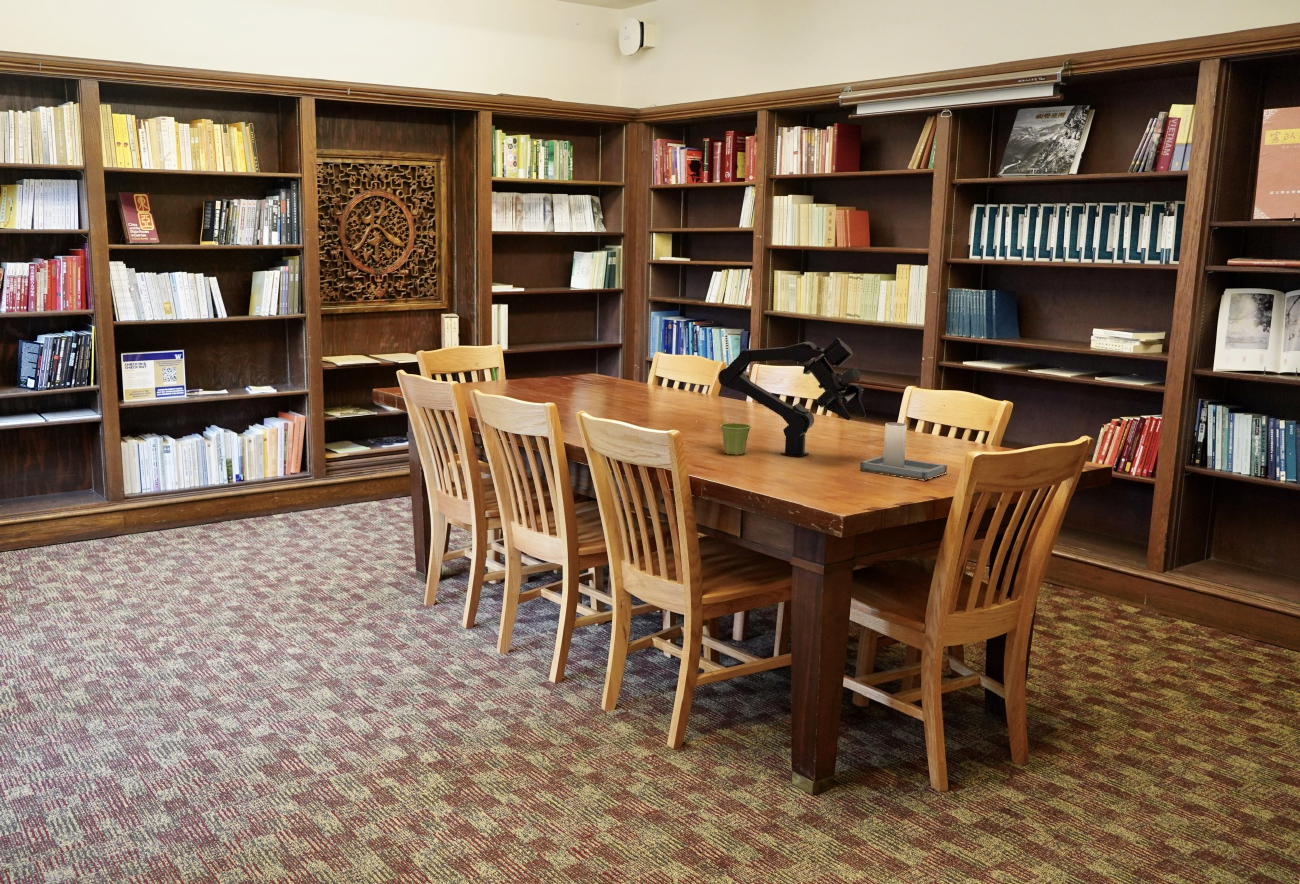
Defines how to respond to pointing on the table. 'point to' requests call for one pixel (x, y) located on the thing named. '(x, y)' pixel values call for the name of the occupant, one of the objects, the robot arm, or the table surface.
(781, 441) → the table surface
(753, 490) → the table surface
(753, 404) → the table surface
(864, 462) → the tray
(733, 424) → the plant pot
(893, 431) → the pencil cup
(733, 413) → the table surface
